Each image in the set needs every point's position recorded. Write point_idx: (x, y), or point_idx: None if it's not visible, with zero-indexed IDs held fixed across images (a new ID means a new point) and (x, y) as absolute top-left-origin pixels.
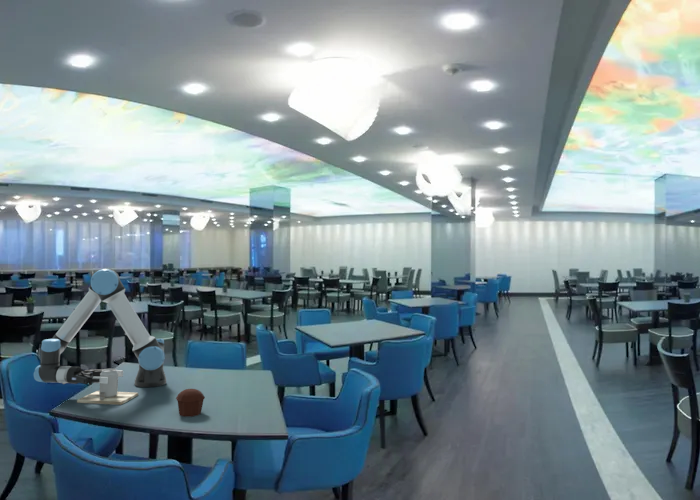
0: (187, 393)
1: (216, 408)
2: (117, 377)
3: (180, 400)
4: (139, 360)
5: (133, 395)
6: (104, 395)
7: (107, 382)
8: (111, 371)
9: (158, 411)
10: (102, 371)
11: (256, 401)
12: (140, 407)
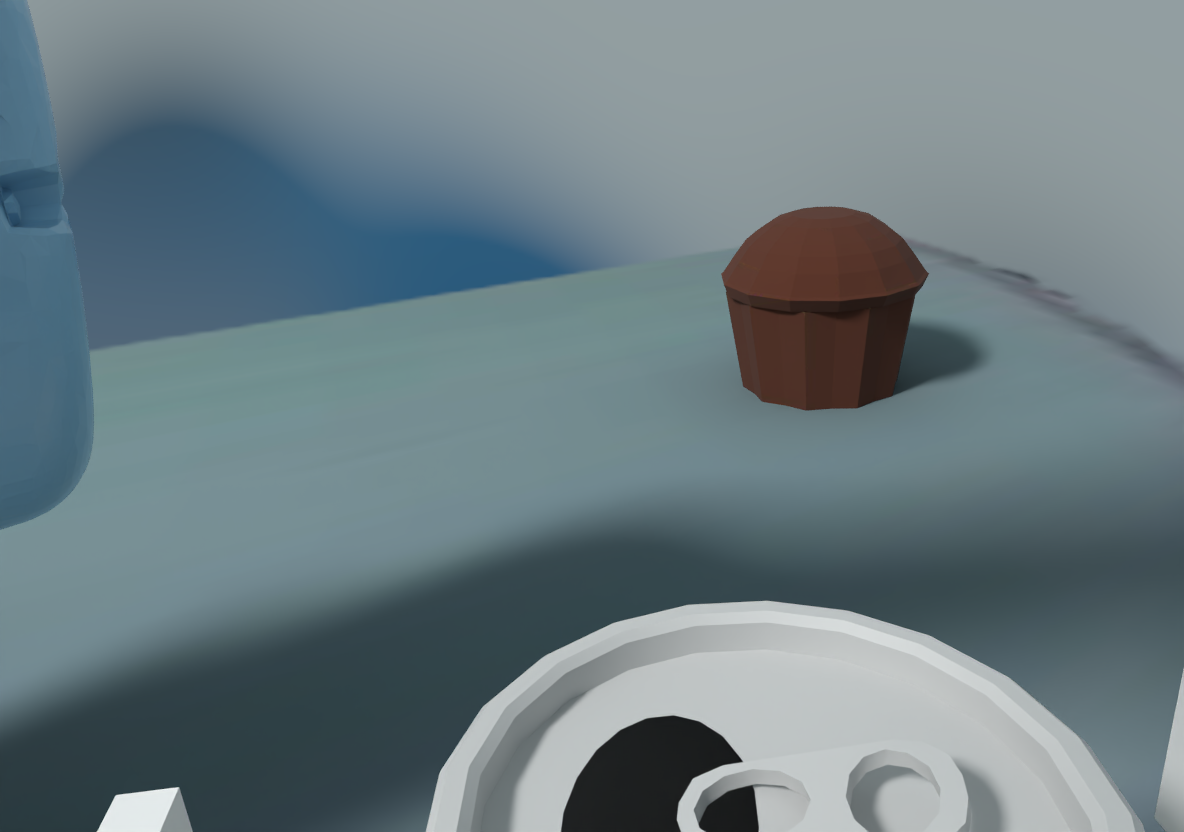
0: (881, 221)
1: (648, 354)
2: (658, 783)
3: (925, 271)
4: (70, 302)
5: None
6: None
7: (1173, 792)
8: (897, 630)
9: (903, 485)
10: None
11: (451, 318)
12: (899, 620)
